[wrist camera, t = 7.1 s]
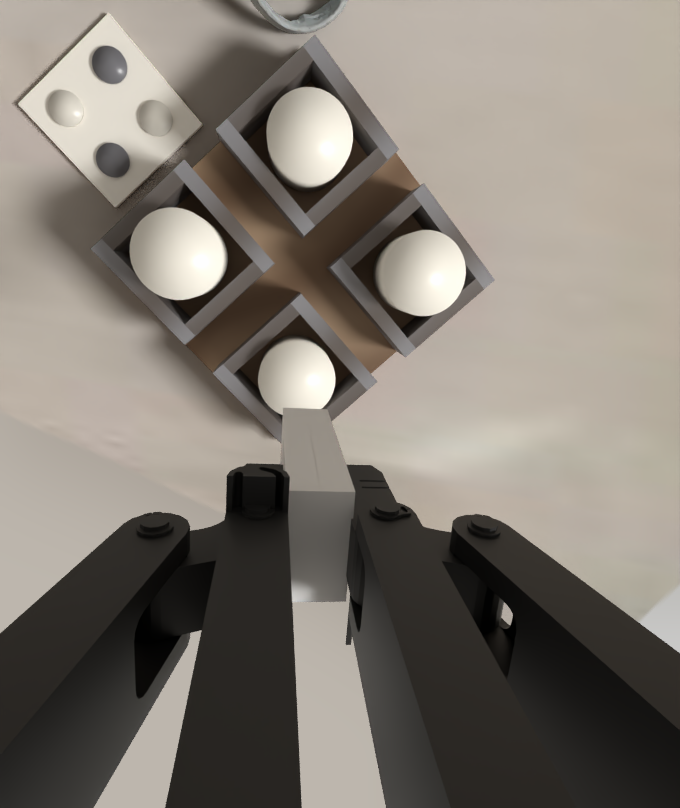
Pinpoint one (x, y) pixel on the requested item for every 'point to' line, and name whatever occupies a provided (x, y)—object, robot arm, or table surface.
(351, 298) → the button board
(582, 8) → the table surface
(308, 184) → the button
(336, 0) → the ceramic mug
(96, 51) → the card
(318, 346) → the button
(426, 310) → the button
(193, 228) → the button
